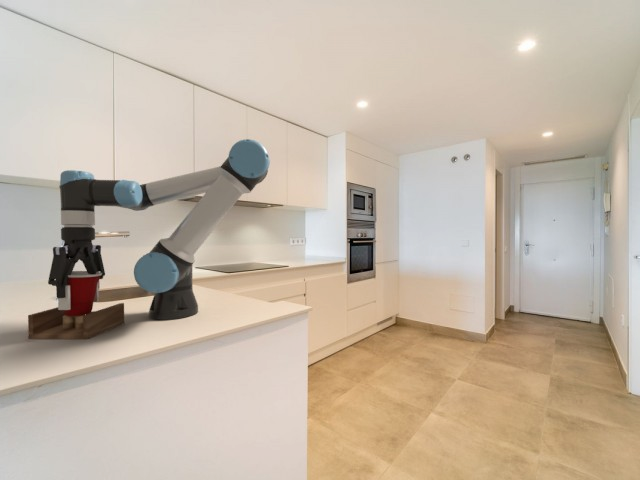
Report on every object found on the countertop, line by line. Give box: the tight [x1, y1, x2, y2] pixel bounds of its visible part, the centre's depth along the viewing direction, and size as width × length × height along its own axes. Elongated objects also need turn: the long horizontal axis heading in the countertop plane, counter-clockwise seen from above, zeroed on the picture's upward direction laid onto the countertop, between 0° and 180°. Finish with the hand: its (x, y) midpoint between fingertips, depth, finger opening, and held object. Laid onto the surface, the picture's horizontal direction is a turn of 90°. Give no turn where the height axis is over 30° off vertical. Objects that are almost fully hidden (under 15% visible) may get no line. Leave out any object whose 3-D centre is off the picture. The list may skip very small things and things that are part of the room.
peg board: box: [27, 302, 125, 340], centre depth 86 cm, size 16×14×6 cm
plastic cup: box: [62, 270, 102, 316], centre depth 86 cm, size 11×11×12 cm
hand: (79, 305), depth 86 cm, fingers open, 9 cm apart
